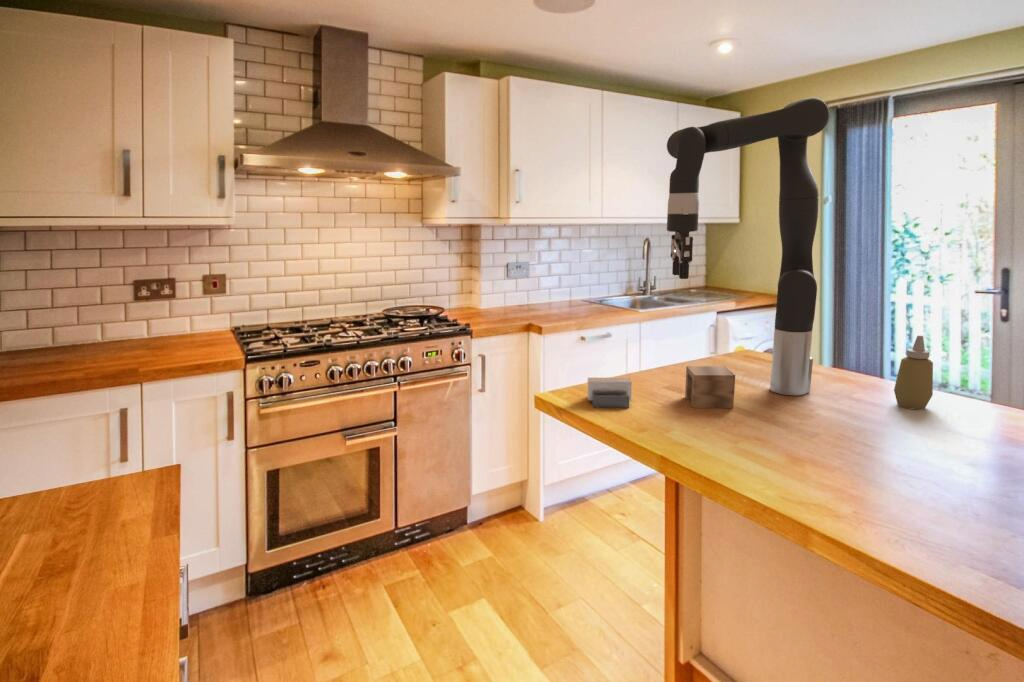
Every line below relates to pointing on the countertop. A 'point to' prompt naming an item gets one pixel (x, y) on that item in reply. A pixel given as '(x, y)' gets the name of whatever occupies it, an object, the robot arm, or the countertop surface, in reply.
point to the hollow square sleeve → (710, 386)
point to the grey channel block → (611, 401)
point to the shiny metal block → (609, 387)
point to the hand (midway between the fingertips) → (680, 276)
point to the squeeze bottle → (915, 378)
